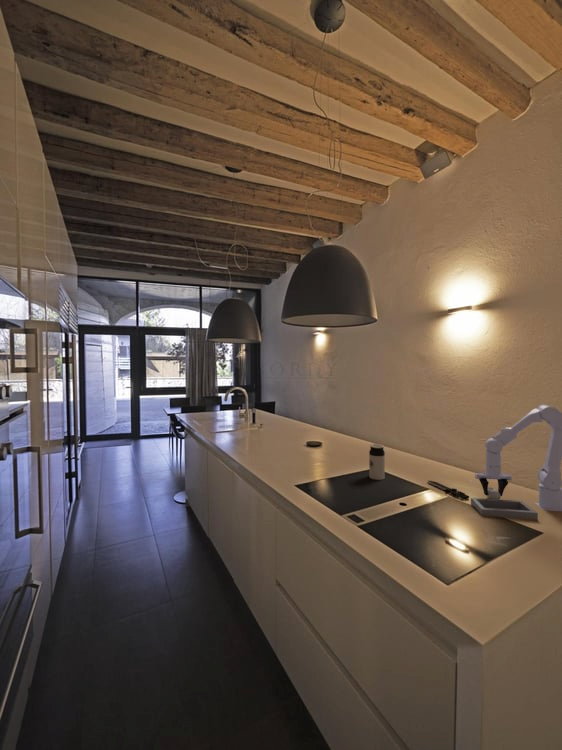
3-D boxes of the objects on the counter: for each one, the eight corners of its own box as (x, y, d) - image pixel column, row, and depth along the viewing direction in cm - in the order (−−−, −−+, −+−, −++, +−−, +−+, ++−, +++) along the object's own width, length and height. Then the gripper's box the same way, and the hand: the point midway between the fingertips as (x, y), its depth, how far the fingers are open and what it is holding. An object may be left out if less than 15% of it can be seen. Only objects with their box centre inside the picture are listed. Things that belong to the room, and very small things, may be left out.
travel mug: (381, 475, 187) (381, 443, 186) (386, 480, 179) (386, 447, 178) (367, 476, 186) (367, 444, 186) (372, 481, 178) (372, 447, 178)
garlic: (482, 498, 154) (482, 487, 154) (488, 495, 157) (488, 484, 157) (497, 502, 149) (497, 491, 149) (502, 500, 152) (503, 488, 152)
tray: (521, 507, 144) (521, 500, 143) (537, 520, 132) (537, 512, 132) (470, 504, 147) (470, 497, 147) (481, 516, 135) (482, 509, 135)
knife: (425, 481, 176) (425, 479, 176) (436, 481, 177) (436, 479, 177) (458, 499, 151) (458, 496, 151) (471, 499, 152) (471, 496, 152)
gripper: (506, 463, 155) (506, 492, 155) (472, 462, 158) (472, 490, 158) (514, 468, 148) (514, 498, 148) (478, 466, 151) (478, 496, 151)
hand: (493, 494), depth 153 cm, fingers closed on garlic, 5 cm apart
